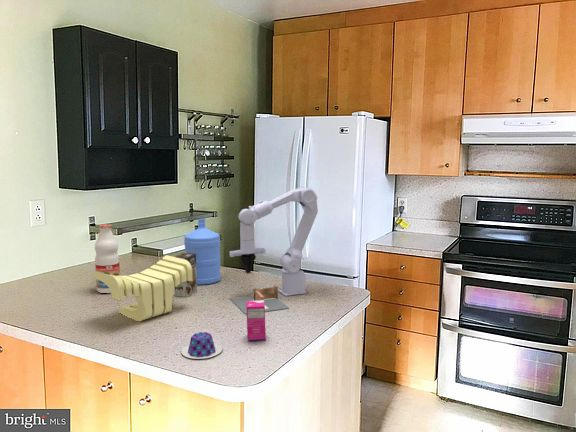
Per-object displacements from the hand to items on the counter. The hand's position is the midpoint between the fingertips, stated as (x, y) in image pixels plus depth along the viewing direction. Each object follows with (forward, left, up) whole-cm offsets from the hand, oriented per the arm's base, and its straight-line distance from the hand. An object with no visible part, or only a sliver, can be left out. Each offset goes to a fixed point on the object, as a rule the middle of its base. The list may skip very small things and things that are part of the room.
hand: (247, 272), depth 191 cm
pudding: (+29, +44, -10) cm, 54 cm away
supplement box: (+11, +41, -10) cm, 44 cm away
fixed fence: (-5, +7, -10) cm, 13 cm away
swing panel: (0, +13, -9) cm, 16 cm away
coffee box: (+22, -14, -10) cm, 28 cm away
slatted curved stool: (+40, +4, -10) cm, 42 cm away
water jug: (+11, -30, -10) cm, 34 cm away
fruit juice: (+51, -30, -10) cm, 60 cm away
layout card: (-1, +11, -10) cm, 15 cm away
